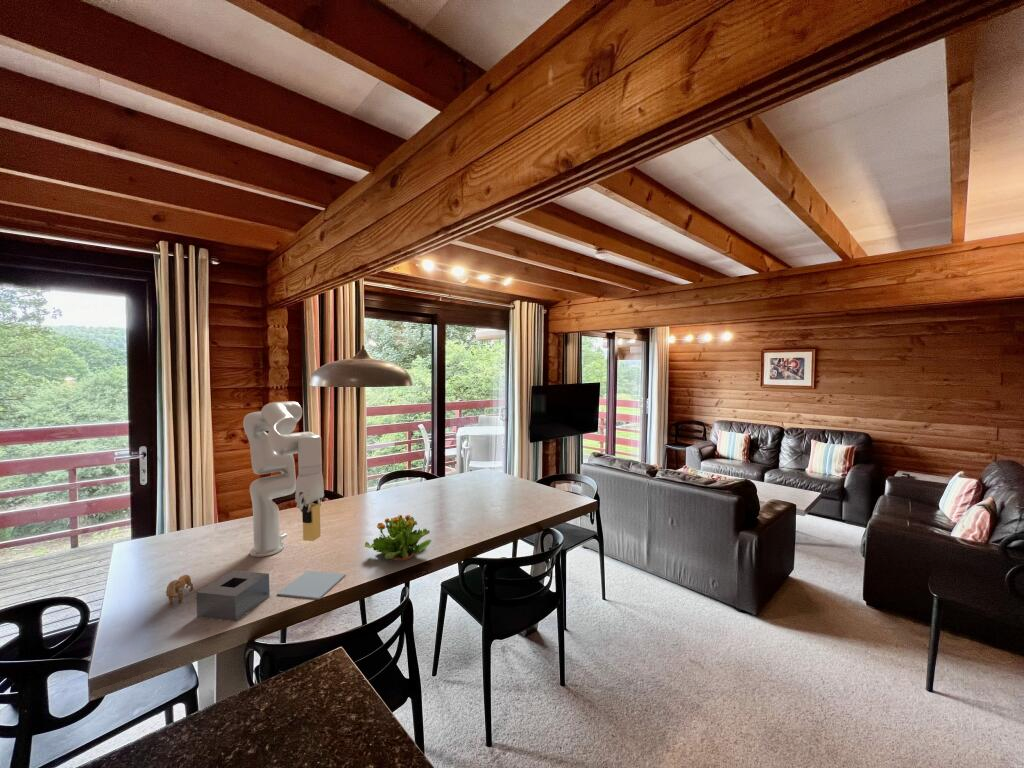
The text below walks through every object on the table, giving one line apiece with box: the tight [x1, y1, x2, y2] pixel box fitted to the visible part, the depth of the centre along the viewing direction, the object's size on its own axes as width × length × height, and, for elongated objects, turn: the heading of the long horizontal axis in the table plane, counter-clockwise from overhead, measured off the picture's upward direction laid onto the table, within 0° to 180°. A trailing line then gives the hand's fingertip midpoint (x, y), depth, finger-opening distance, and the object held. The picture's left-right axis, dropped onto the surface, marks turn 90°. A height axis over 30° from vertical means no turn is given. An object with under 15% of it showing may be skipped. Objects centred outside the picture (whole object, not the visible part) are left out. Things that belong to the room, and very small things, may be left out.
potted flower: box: [364, 514, 432, 562], centre depth 171 cm, size 25×24×18 cm
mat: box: [276, 570, 347, 600], centre depth 148 cm, size 16×16×1 cm
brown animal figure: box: [165, 574, 194, 607], centre depth 139 cm, size 15×5×9 cm, turn 26°
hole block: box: [195, 569, 270, 622], centre depth 135 cm, size 14×14×8 cm
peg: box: [302, 503, 321, 542], centre depth 147 cm, size 4×4×12 cm
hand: (311, 519), depth 147 cm, fingers closed on peg, 4 cm apart
